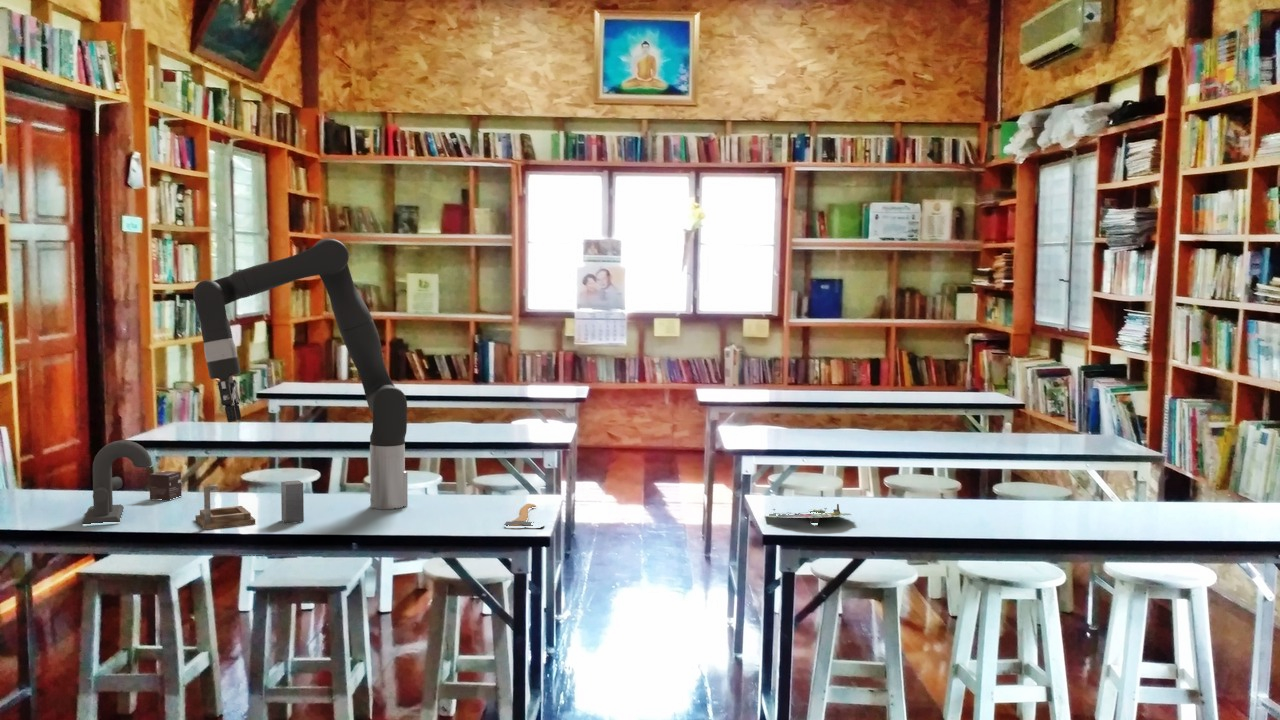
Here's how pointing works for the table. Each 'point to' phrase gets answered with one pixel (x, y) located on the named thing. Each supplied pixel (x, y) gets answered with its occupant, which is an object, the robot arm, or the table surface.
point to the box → (165, 485)
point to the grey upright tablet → (292, 501)
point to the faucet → (111, 479)
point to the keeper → (222, 514)
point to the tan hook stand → (522, 517)
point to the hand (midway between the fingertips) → (234, 420)
